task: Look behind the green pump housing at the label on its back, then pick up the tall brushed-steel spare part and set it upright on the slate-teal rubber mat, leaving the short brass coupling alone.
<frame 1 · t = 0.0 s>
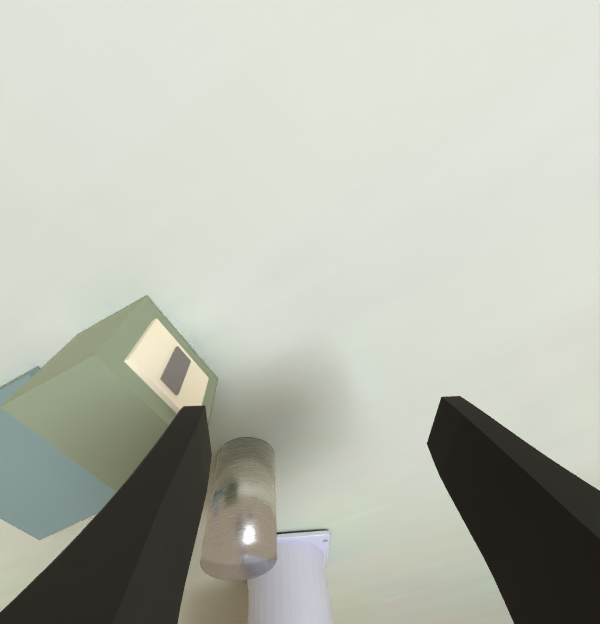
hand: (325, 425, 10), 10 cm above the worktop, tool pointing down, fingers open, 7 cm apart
steel spare part: (246, 457, 24), on the worktop
pump housing: (152, 357, 19), on the worktop
parts mat: (42, 460, 22), on the worktop
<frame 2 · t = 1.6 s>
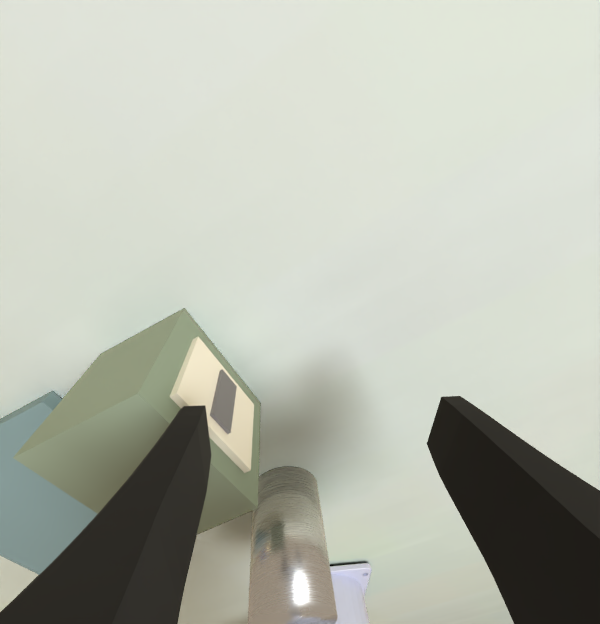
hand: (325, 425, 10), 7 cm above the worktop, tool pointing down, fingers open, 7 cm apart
steel spare part: (285, 488, 21), on the worktop
pump housing: (186, 380, 17), on the worktop
parts mat: (55, 494, 20), on the worktop
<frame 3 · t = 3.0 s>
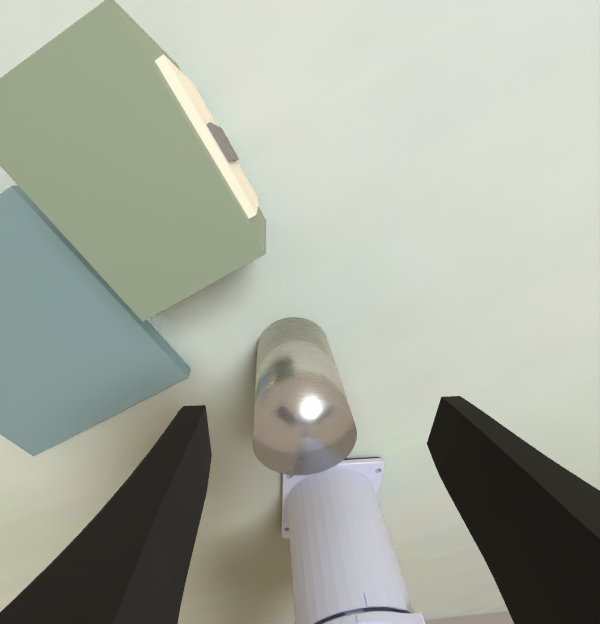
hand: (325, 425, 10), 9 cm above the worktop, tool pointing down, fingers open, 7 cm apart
steel spare part: (292, 348, 19), on the worktop
pump housing: (180, 178, 14), on the worktop
parts mat: (34, 341, 17), on the worktop
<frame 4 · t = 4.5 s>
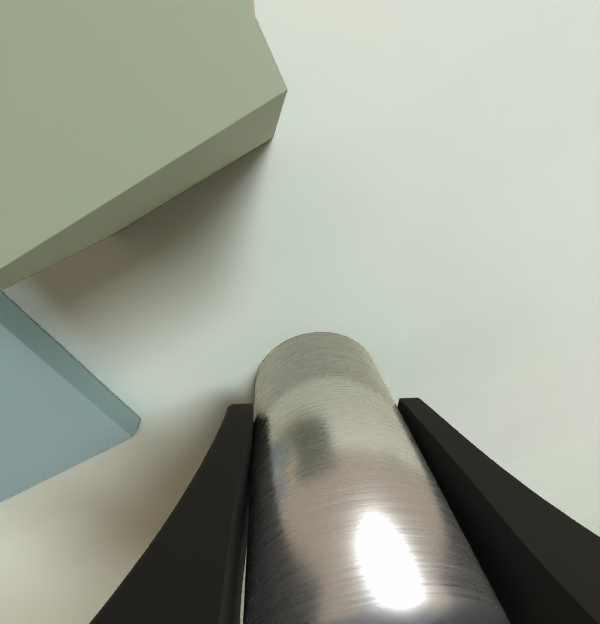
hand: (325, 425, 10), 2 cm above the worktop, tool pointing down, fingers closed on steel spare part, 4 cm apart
steel spare part: (316, 384, 11), on the worktop, touching gripper
pump housing: (84, 29, 6), on the worktop
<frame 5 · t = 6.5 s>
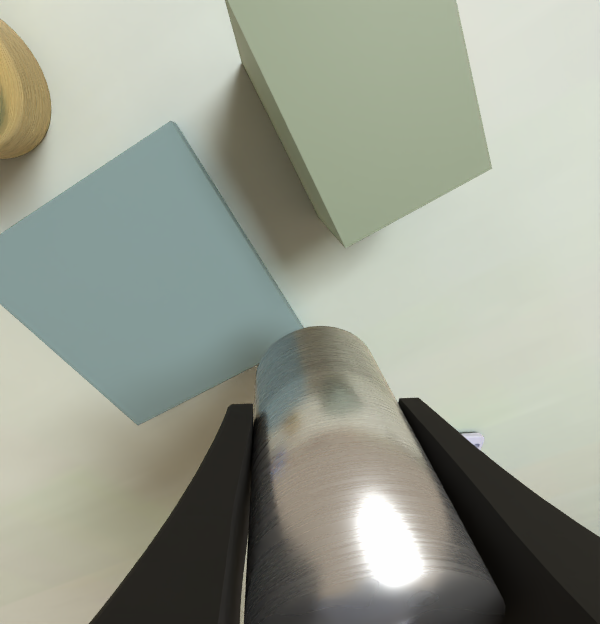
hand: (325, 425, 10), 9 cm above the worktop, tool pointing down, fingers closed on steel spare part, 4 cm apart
steel spare part: (316, 378, 11), point 7 cm above the worktop, touching gripper
pump housing: (333, 117, 14), on the worktop
parts mat: (155, 299, 17), on the worktop
when the fingers open (4 cm above the worktop, at t = 8.5 s): steel spare part stays where it is, resting on parts mat.
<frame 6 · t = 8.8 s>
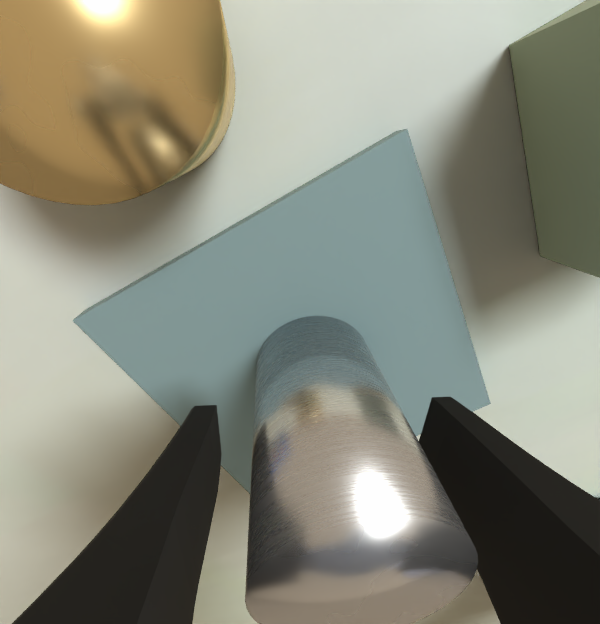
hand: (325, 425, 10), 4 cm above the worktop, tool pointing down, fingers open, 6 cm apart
steel spare part: (313, 365, 12), point 1 cm above the worktop, touching parts mat
parts mat: (310, 356, 13), on the worktop
brass coupling: (134, 72, 8), on the worktop
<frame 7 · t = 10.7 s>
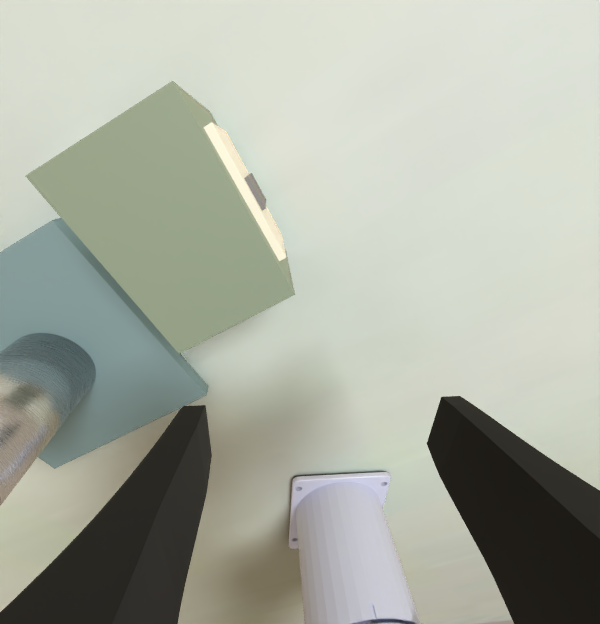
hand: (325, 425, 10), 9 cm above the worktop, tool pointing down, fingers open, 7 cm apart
steel spare part: (53, 366, 17), point 1 cm above the worktop, touching parts mat
pump housing: (207, 213, 15), on the worktop
parts mat: (61, 360, 18), on the worktop
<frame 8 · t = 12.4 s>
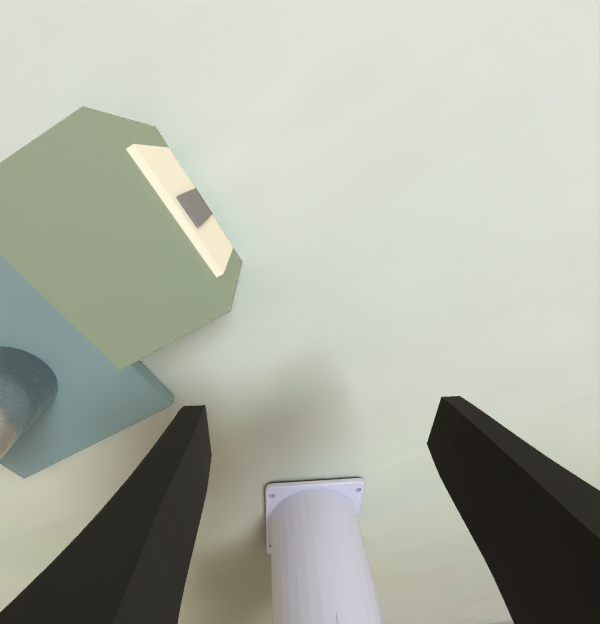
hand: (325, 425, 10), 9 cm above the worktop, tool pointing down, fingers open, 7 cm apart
steel spare part: (14, 379, 18), point 1 cm above the worktop, touching parts mat
pump housing: (160, 226, 15), on the worktop
parts mat: (25, 372, 18), on the worktop
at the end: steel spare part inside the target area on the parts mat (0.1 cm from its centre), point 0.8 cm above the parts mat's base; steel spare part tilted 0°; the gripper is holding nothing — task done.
